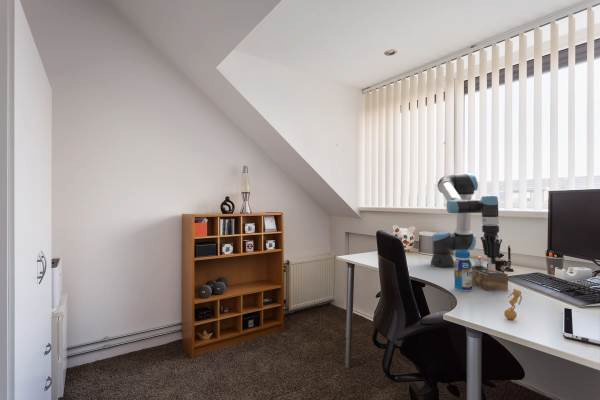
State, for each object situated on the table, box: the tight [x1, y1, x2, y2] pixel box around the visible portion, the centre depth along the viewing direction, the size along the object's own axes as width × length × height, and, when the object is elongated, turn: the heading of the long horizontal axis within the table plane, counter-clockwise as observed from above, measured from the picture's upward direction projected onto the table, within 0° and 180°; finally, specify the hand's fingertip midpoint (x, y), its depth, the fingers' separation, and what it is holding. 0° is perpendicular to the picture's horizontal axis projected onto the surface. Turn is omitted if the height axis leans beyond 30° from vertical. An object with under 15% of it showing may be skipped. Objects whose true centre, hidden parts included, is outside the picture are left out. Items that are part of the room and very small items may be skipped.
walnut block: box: [471, 265, 509, 292], centre depth 164 cm, size 18×11×9 cm, turn 5°
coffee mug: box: [486, 257, 506, 273], centre depth 183 cm, size 12×9×10 cm
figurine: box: [503, 288, 523, 321], centre depth 119 cm, size 8×6×12 cm
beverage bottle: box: [453, 250, 473, 292], centre depth 158 cm, size 8×8×20 cm
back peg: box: [473, 255, 484, 269], centre depth 169 cm, size 4×4×8 cm
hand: (491, 269), depth 159 cm, fingers closed
